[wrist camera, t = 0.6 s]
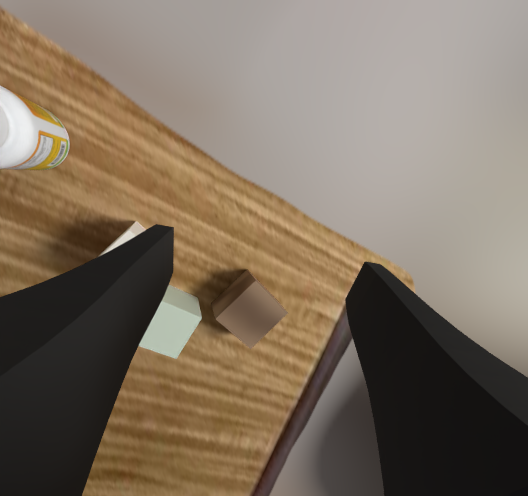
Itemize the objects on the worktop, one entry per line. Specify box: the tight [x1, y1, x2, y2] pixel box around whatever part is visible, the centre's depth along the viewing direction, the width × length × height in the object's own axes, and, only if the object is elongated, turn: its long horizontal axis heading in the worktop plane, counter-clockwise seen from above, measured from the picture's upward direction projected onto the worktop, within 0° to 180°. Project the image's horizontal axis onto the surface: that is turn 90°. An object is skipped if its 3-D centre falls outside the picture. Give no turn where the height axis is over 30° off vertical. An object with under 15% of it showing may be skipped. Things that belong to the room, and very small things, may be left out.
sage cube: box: [139, 285, 202, 359], centre depth 29 cm, size 5×5×5 cm
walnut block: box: [211, 269, 288, 349], centre depth 32 cm, size 6×6×4 cm
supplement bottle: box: [0, 86, 70, 170], centre depth 19 cm, size 5×5×10 cm
